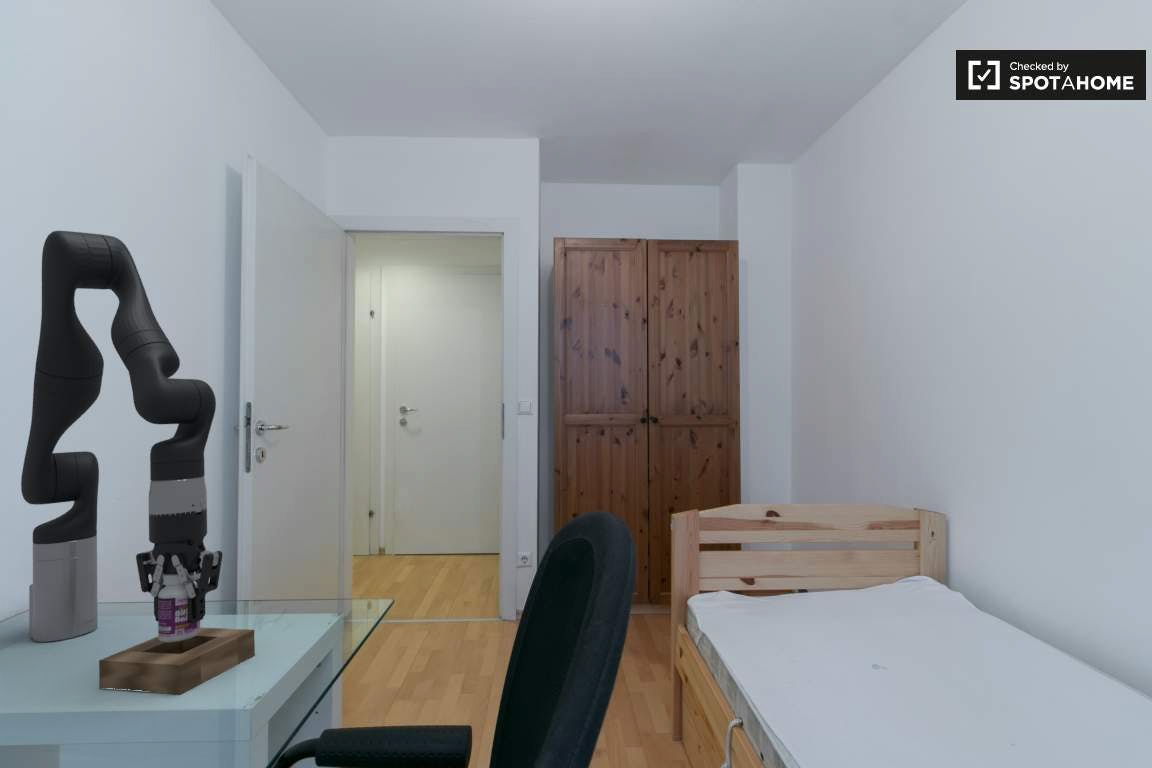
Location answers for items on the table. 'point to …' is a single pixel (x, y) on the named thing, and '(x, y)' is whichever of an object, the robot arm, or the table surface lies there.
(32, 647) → the table surface
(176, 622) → the pill bottle
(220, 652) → the well block
